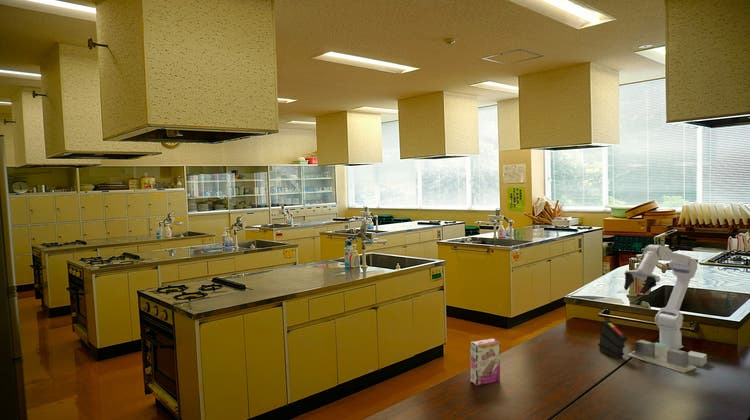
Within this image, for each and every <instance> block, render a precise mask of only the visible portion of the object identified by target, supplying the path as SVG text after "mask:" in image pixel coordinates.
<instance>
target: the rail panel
mask: <svg viewBox="0 0 750 420" xmlns="http://www.w3.org/2000/svg"><path fill="white" fill-rule="evenodd" d="M655 343H656V342H651V341H647V340H645V339H639V340H637V341H634V350H632V351H631V352H629V353H627V356H629V357H631V358H635V359H638V360H642V361H644V362H647V363H651V364H654V365H657V366H660V367H664V368H667V369H671V370H674V371H677V372H679V373H684V374H685V373H687V372H690V371H692V370H695V369H697V366H696V365H692V364H688V353H689V352H690V351H688V352H687V351H686V350H685V351H684V350H681V349H674V348H673V349H670V350H668V351H667V357H662V356H659V355H655Z"/></svg>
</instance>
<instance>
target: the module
mask: <svg viewBox="0 0 750 420" xmlns="http://www.w3.org/2000/svg"><path fill="white" fill-rule="evenodd" d="M654 343H655V355H659V356H662V357H666V358H667V351H668V346H667V345H665V344H661V343H660V342H654Z"/></svg>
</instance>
